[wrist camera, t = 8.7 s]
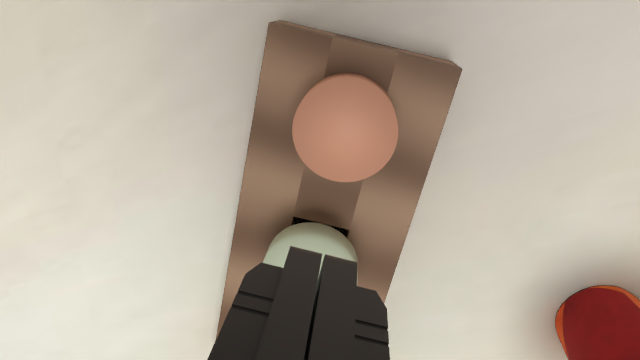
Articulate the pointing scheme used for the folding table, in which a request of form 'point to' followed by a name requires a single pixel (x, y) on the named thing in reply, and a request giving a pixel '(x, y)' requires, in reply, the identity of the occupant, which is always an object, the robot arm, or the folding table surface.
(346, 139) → the terracotta button
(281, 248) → the sage button
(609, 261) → the folding table surface
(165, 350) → the folding table surface
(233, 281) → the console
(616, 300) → the paper cup
